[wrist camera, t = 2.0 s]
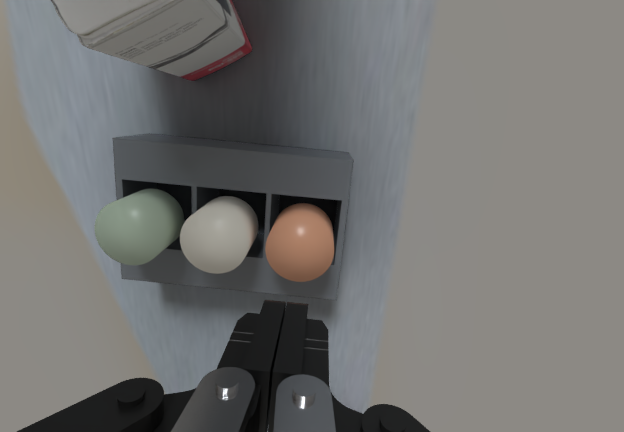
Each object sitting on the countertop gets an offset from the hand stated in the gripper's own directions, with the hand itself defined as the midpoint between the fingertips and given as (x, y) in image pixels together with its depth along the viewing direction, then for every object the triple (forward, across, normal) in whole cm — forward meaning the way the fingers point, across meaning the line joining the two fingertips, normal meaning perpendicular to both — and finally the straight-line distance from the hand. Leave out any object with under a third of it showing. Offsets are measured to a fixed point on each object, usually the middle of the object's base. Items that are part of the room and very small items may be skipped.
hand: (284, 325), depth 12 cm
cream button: (+10, +4, 0) cm, 11 cm away
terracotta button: (+10, 0, 0) cm, 10 cm away
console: (+14, +4, 0) cm, 15 cm away
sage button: (+10, +9, 0) cm, 13 cm away
